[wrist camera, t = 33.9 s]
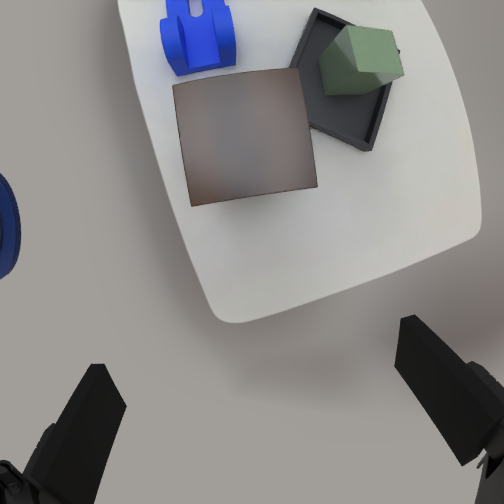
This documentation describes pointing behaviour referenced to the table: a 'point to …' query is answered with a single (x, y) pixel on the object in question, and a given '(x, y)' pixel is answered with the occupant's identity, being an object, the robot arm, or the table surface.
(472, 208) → the table surface
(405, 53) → the table surface
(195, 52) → the bracket
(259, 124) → the stand
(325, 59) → the green block
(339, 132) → the tray
